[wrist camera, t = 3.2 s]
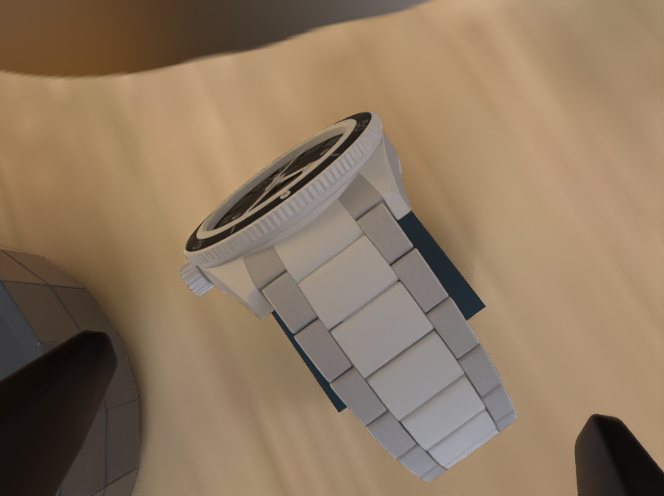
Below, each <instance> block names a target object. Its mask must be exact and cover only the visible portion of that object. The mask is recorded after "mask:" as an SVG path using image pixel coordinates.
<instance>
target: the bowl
mask: <svg viewBox="0 0 664 496" xmlns="http://www.w3.org/2000/svg"><path fill="white" fill-rule="evenodd" d="M85 329H94V330H100V331H105V332H107V333H108V334H109V336H110V338H111V341H112V344H113V346H114V349H115V352H116V354H117V357H118V366H117V370H116V373H115V375H114V377H113V380H112V382H111V384H110V386H109V389H108V391H107V393H106V396H105V398H104V400H103V403H102V405H101V407H100V410H99V412H98V414H97V417H96V419H95V421H94V424H93V426H92V428H91V430H90V433H89V435H88V437H87V439H86V441H85V443H84V445H83V447H82V449H81V451H80V453H79V454H78V456H77V458H76V460H75V462H74V463H73V465H72V467H71V469H70V470H69V472H68V474H67V476H66V478H65V479H64V481H63V483H62V485H61V487H60V488H59V490H58V492H57V494H56V496H131V494H132V491H133V487H134V484H135V481H136V477H137V474H138V470H139V400H138V399H139V394H138V391H137V388H136V384H135V381H134V378H133V374H132V371H131V368H130V364H129V361H128V358H127V354H126V351H125V348H124V344H123V341H122V338H120V335H119V334H118V332H117V331H116V330H115V328H114V327H113V325H112V324H111V322H110V321H109V319H108V318H107V317H106V315H105V314H104V312H103V311H102V309H101V308H100V306H99V305H98V304H97V302H96V301H95V299H94V298H93V296H92V295H91V294H90V292H89V291H88V290H87V288H86V287H84V286H83V285H81V284H80V283H79V282H77V281H76V280H74V279H73V278H72V277H70V276H69V275H68V274H66V273H65V272H63V271H62V270H61V269H59V268H58V267H56V266H55V265H54V264H52V263H51V262H49V261H48V260H47V259H45V258H44V257H41V256H39V255H35V254H31V253H28V252H24V251H20V250H17V249H13V248H9V247H6V246H2V245H0V380H2V379H4V378H5V377H7V376H9V375H10V374H12V373H13V372H15V371H17V370H18V369H20V368H22V367H23V366H25V365H27V364H28V363H30V362H31V361H33V360H35V359H36V358H38V357H40V356H41V355H43V354H45V353H46V352H48V351H49V350H51V349H53V348H54V347H56V346H58V345H59V344H61V343H63V342H64V341H66V340H68V339H69V338H71V337H72V336H74V335H76V334H77V333H79V332H81V331H83V330H85Z"/></svg>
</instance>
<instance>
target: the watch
mask: <svg viewBox="0 0 664 496" xmlns="http://www.w3.org/2000/svg"><path fill="white" fill-rule="evenodd" d="M382 127H383V124H382V121H381V120H380V118H379V116H378V115H377V113H376V112H374V111H367V112H362V113H358V114H355V115H352V116H350V117H347V118H345V119H343V120H341V121H339V122H337V123H335V124H333V125H331V126H329V127H327V128H326V129H324V130H322V131H320V132H318V133H317V134H315V135H313V136H312V137H310V138H308V139H307V140H305V141H303V142H302V143H300V144H299V145H297V146H295V147H294V148H292V149H291V150H289V151H288V152H286V153H285V154H283V155H282V156H281V157H279V158H278V159H276V160H275V161H274V162H272V163H271V164H269V165H268V166H267V167H265V168H264V169H263V170H261V171H260V172H259V173H257V174H256V175H255V176H253V177H252V178H251V179H250V180H248V181H247V182H246V183H245V184H243V185H242V186H241V187H240V188H239V189H237V190H236V191H235V192H234V193H233V194H232V195H230V196H229V197H228V198H227V199H226V200H225V201H224V202H223V203H222V204H221V205H219V206H218V207H217V208H216V209H215V210H214V211H213V212H212V213H211V214H210V215H209V216H208V217H207V218H206V219H205V220H204V221H203V222H202V223H201V224H200V225H199V227H198V228H197V229H196V230H195V231H194V232H193V234H192V235H191V236H190V238H189V240H188V241H187V243H186V245H185V247H184V250H183V255H184V256H185V257H186V258H187V259H188V261H187V262H186V263H184V264H183V265H182V266H180V267H179V268H178V269H179V270H178V271H179V274H180V276H181V278H182V280H183V281H184V283H185V284H186V285H187V287H188V288H189V289H190V290H191V291H192V292H194V293H195V294H196V295H198V296H201V295H203V294H204V293H205V292H207V291H208V290H210V289H211V288H212V287H214V286H216V287H217V288H218V289H219V290H220V291H221V292H223V293H226V294H228V295H230V296H233V297H234V298H235V299H236V300H238V301H239V302H240V303H241V304H242V305H243V306H245V307H246V308H247V309H248V310H249V311H250V312H252V313H253V314H254V315H255V316H256V317H258V318H259V319H263V318H265V317H266V316H267V315H269V314H270V313H272V314H273V316H274V317H275V319H276V320H277V322H278V323H279V325H280V326H281V328H282V329H283V331H284V332H285V334H286V335H287V337H288V338H289V340H290V341H291V343H292V344H293V346H294V347H295V349H296V350H297V351H298V353H299V354H300V356H301V357H302V359H303V360H304V362H305V363H306V365H307V366H308V368H309V369H310V371H311V372H312V374H313V375H314V377H315V378H316V380H317V381H318V383H319V384H320V386H321V387H322V388H323V390H324V391H325V393H326V394H327V396H328V397H329V399H330V400H331V402H332V403H333V405H334V406H335V408H336V409H337V411H338V412H341V411H342V410H343V409H345V408H346V407H348V408H349V409H350V411H351V412H352V413H353V414H354V415H355V416H356V417H357V419H358V420H359V421H360V422H361V423H362V424H363V425H364V426H365V428H366V430H367V431H368V432H369V434H370V435H371V436H372V437H373V438H374V439H375V440H376V441H377V442H378V443H379V444H380V445H381V446H382V447H383V448H384V449H385V450H386V451H387V452H388V453H389V454H390V455H391V456H392V457H393V458H397V459H398V461H399V462H400V463H401V464H402V465H403V466H404V467H406V468H407V469H408V470H409V471H411V472H412V473H413V474H415V475H416V476H418V477H420V478H421V479H422V480H425V481H432V480H434V479H435V478H436V477H438V476H439V475H441V474H442V473H443V472H445V471H446V470H447V469H450V468H451V467H452V466H454V465H455V464H457V463H458V462H459V461H461V460H462V459H464V458H465V457H466V456H468V455H469V454H470V453H472V452H473V451H475V450H476V449H477V448H479V447H480V446H482V445H483V444H484V443H486V442H487V441H489V440H490V439H491V438H493V437H494V436H496V435H497V434H498V432H500V431H502V430H503V429H505V428H506V427H507V426H509V425H510V424H511V423H513V422H514V421H516V412H515V410H514V407H513V404H512V402H511V399H510V397H509V395H508V393H507V391H506V389H505V387H504V385H503V384H502V379H501V377H500V375H499V373H498V372H497V370H496V368H495V366H494V364H493V362H492V361H491V359H490V357H489V355H488V354H487V352H486V350H485V349H484V347H483V346H482V345H481V344H480V343H479V341H478V339H477V338H476V336H475V334H474V333H473V331H472V329H471V328H470V326H469V324H468V323H467V321H466V320H468V319H469V318H471V317H472V316H473V315H475V314H476V313H477V312H479V311H480V310H482V309H483V308H484V307H486V306H485V305H484V303H483V302H482V301H481V300H480V298H479V297H478V296H477V294H476V293H475V292H474V291H473V289H472V288H471V287H470V285H469V284H468V283H467V282H466V280H465V279H464V278H463V276H462V275H461V274H460V273H459V271H458V270H457V269H456V267H455V266H454V265H453V264H452V262H451V261H450V260H449V258H448V257H447V256H446V255H445V253H444V252H443V251H442V249H441V248H440V247H439V246H438V244H437V243H436V242H435V240H434V239H433V238H432V237H431V235H430V234H429V233H428V231H427V230H426V229H425V227H424V226H423V225H422V224H421V222H420V221H419V220H418V218H417V217H416V216H415V215H414V213H413V212H412V211H411V207H410V203H409V200H408V197H407V194H406V191H405V188H404V186H403V183H402V180H401V164H400V162H401V161H400V158H399V156H398V154H397V153H396V151H395V149H394V148H393V146H392V145H391V143H390V141H389V140H388V138H387V137H386V135H385V133H384V132H383V131H382Z"/></svg>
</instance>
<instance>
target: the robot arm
mask: <svg viewBox="0 0 664 496" xmlns="http://www.w3.org/2000/svg"><path fill="white" fill-rule="evenodd" d="M117 366H118V357H117V354H116V352H115V349H114V346H113V344H112V341H111V338H110V336H109V334H108V333H107V332H105V331H100V330H94V329H85V330H83V331H81V332H79V333H77V334H76V335H74V336H72V337H71V338H69V339H68V340H66V341H64V342H63V343H61V344H59V345H58V346H56V347H54V348H53V349H51V350H49V351H48V352H46V353H45V354H43V355H41V356H40V357H38V358H36V359H35V360H33V361H31V362H30V363H28V364H27V365H25V366H23V367H22V368H20V369H18V370H17V371H15V372H13V373H12V374H10V375H9V376H7V377H5V378H4V379H2V380H0V496H56V494H57V492H58V490H59V488H60V487H61V485H62V483H63V481H64V479H65V478H66V476H67V474H68V472H69V470H70V469H71V467H72V465H73V463H74V462H75V460H76V458H77V456H78V454H79V453H80V451H81V449H82V447H83V445H84V443H85V441H86V439H87V437H88V435H89V433H90V430H91V428H92V426H93V424H94V421H95V419H96V417H97V414H98V412H99V410H100V407H101V405H102V403H103V400H104V398H105V396H106V393H107V391H108V389H109V386H110V384H111V382H112V380H113V377H114V375H115V373H116V370H117ZM575 463H576V476H577V489H578V496H664V472H663V471H662V470H661V468H660V467H659V466H658V465H657V463H656V462H655V461H654V460H653V458H652V457H651V456H650V455H649V454H648V452H647V451H646V450H645V449H644V447H643V446H642V445H641V444H640V442H639V441H638V440H637V439H636V437H635V436H634V435H633V434H632V433H631V431H630V430H629V429H628V428H627V426H626V425H625V424H624V423H623V422H622V421H621V420H620V419H618V418H616V417H612V416H606V415H600V414H594V415H592V416H590V418H589V419H588V421H587V422H586V424H585V426H584V427H583V429H582V431H581V432H580V434H579V436H578V437H577V440H576V443H575Z"/></svg>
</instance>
